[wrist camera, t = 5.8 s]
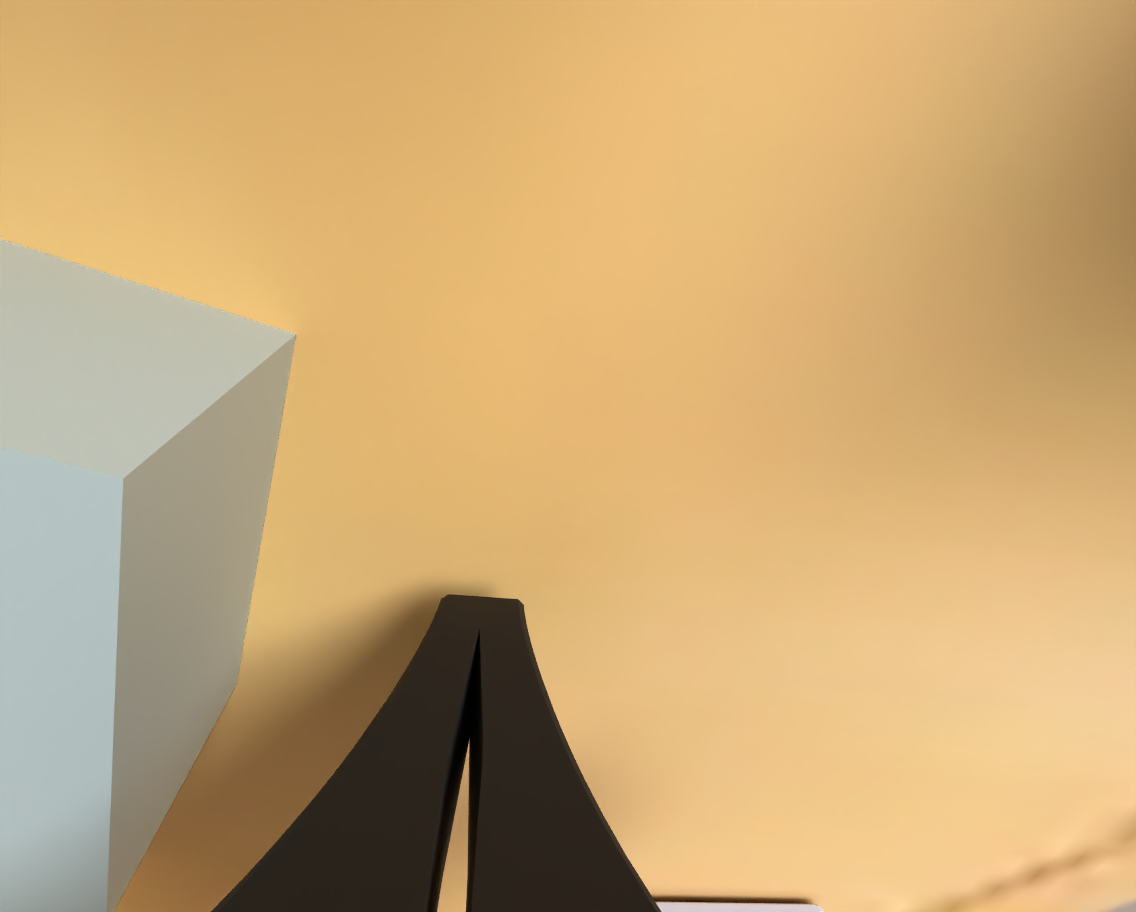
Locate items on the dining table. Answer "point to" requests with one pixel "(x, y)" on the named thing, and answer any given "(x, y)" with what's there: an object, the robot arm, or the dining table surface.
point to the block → (118, 559)
